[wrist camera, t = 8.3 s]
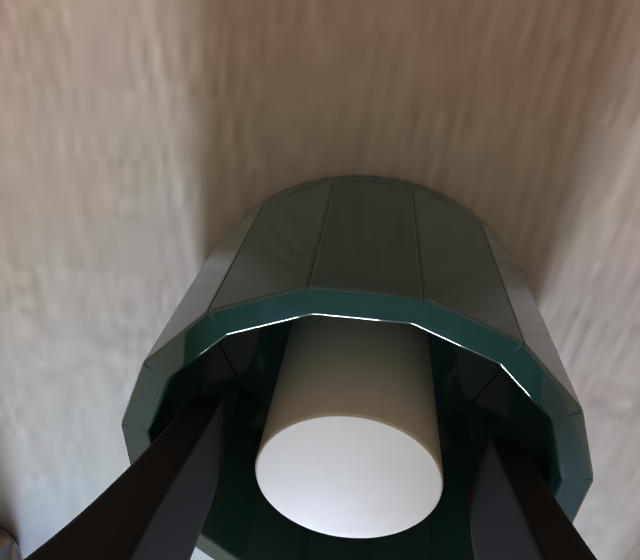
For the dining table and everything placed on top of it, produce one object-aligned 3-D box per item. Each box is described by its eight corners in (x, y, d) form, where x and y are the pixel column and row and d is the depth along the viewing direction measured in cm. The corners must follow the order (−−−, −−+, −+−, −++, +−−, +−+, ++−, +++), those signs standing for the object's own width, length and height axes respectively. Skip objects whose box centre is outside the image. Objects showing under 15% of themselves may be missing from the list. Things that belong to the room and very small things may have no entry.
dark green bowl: (601, 272, 14) (710, 429, 9) (416, 473, 19) (426, 642, 14) (272, 108, 12) (202, 193, 8) (167, 371, 17) (86, 519, 13)
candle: (455, 316, 14) (482, 463, 10) (386, 406, 16) (385, 559, 12) (325, 256, 14) (299, 384, 10) (271, 357, 16) (229, 499, 12)
